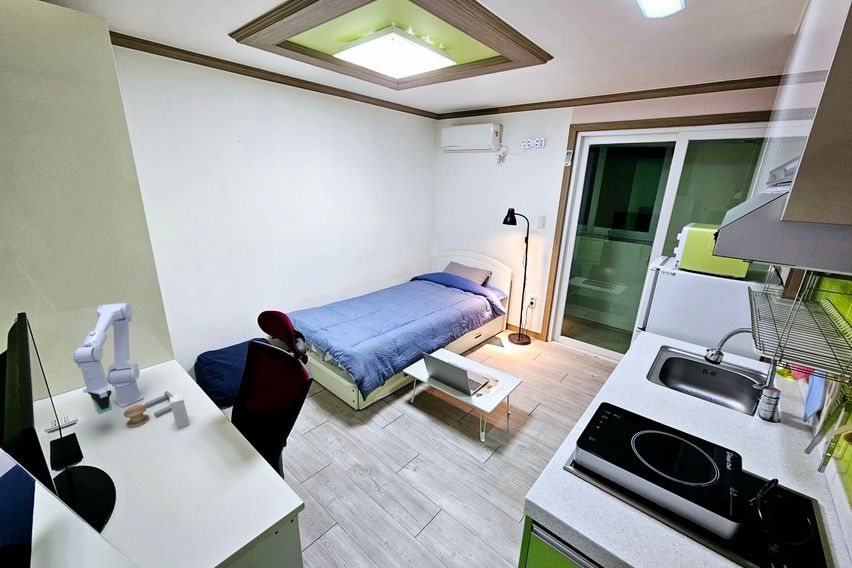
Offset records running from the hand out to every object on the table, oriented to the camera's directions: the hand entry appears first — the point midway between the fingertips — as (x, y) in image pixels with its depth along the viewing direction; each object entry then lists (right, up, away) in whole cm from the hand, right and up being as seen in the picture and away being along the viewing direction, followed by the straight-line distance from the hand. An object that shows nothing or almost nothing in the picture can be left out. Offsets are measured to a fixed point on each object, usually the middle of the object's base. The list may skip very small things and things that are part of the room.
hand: (103, 406), depth 134 cm
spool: (+9, -8, +6) cm, 13 cm away
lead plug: (0, -2, 0) cm, 2 cm away
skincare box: (+27, -9, +6) cm, 29 cm away
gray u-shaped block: (+11, -6, +15) cm, 19 cm away
